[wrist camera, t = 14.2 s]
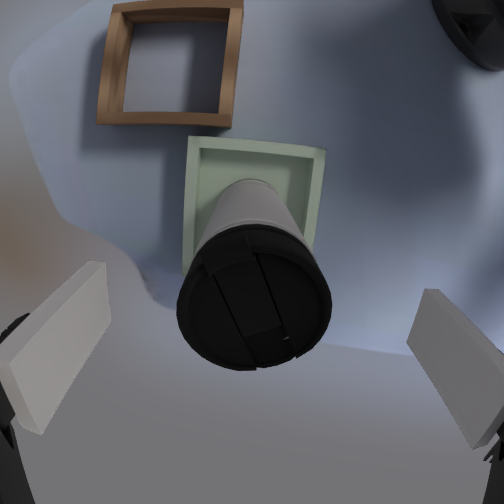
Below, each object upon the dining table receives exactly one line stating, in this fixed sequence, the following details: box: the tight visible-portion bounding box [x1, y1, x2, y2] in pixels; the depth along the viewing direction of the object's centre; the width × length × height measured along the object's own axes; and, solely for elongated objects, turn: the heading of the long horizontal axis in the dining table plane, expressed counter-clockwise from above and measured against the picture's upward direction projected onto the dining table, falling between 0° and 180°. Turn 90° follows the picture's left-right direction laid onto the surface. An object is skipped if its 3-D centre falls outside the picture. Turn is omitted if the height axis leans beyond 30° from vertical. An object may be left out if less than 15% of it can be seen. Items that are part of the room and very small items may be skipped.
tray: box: [182, 136, 326, 276], centre depth 30 cm, size 13×12×3 cm
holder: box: [96, 0, 244, 128], centre depth 25 cm, size 12×12×4 cm
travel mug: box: [176, 179, 332, 371], centre depth 21 cm, size 6×7×20 cm
